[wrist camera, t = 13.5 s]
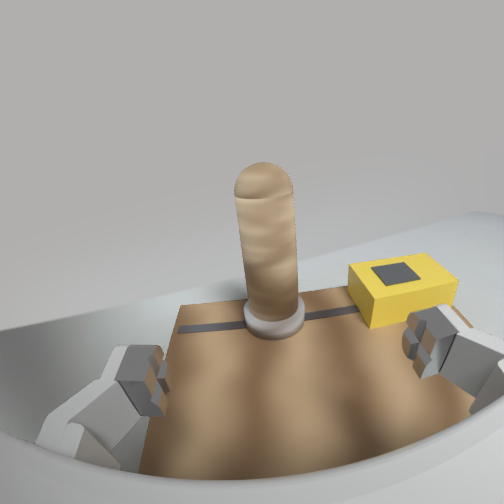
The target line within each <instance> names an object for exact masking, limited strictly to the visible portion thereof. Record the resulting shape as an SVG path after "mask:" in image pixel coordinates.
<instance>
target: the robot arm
mask: <svg viewBox="0 0 504 504" xmlns="http://www.w3.org/2000/svg"><path fill="white" fill-rule="evenodd" d="M406 323H407V325H408V327H407V329H406V330H405V331H404V332H403V336H402V349H403V352H404V354H405V356H406V357H407V358H408V359H410V360H412V361H413V364H412V367H413V369H414V370H415V372H416V374H417V375H418V377H419V379H423V378H426V377H429V376H432V375H435V374H438V373H439V374H440V375H441V376H443V377H444V378H446V379H447V380H449V381H450V382H452V383H453V384H455V385H456V386H458V387H459V388H461V389H462V390H464V391H465V392H467V393H468V394H470V395H471V396H473V397H474V398H475V400H474V401H473V403H472V404H471V406H470V407H469V410H468V411H469V412H470V414H471V416H469V417H467V418H465V419H463V420H462V421H460V422H458V423H456V424H454V425H452V426H450V427H448V428H446V429H444V430H442V431H440V432H438V433H435V434H433V435H431V436H429V437H427V438H424V439H422V440H420V441H417V442H415V443H412V444H410V445H407V446H404V447H402V448H399V449H396V450H394V451H391V452H388V453H385V454H382V455H379V456H376V457H372V458H369V459H366V460H362V461H359V462H355V463H351V464H347V465H343V466H339V467H335V468H330V469H325V470H320V471H315V472H309V473H303V474H297V475H290V476H282V477H273V478H262V479H247V480H193V479H178V478H167V477H158V476H150V475H143V474H137V473H131V472H126V471H121V470H120V469H121V464H120V462H119V461H118V460H117V459H116V458H115V457H114V456H113V455H111V454H110V452H111V451H112V449H113V448H114V447H115V446H116V445H117V444H118V443H119V442H120V441H121V439H122V438H123V437H124V436H125V435H126V434H127V433H128V432H129V431H130V429H131V428H132V427H133V426H134V425H135V424H136V423H137V422H138V420H139V419H140V418H141V416H150V417H165V414H166V409H167V404H168V400H167V398H166V396H165V395H166V394H167V393H168V392H169V391H170V389H171V384H172V381H171V371H170V368H169V365H168V363H166V362H165V361H164V360H162V359H163V355H164V353H163V351H162V349H161V347H160V346H158V345H116V346H115V347H114V349H113V351H112V353H111V355H110V357H109V359H108V361H107V363H106V366H105V368H104V370H103V372H102V374H101V377H100V379H95V380H94V381H92V382H91V383H90V384H88V385H87V386H86V387H84V388H83V389H82V390H80V391H79V392H78V393H76V394H75V395H73V396H72V397H71V398H69V399H68V400H67V401H65V402H64V403H63V404H61V405H60V406H59V407H57V408H56V409H55V410H53V411H52V412H51V413H49V414H48V415H47V417H46V419H45V421H44V423H43V426H42V428H41V430H40V432H39V435H38V437H37V439H36V442H35V444H32V443H29V442H27V441H25V440H23V439H20V438H18V437H16V436H14V435H12V434H10V433H8V432H6V431H4V430H2V429H0V504H504V340H502V339H499V338H497V337H495V336H492V335H490V334H487V333H485V332H482V331H480V330H477V329H475V328H469V327H468V326H467V325H466V324H465V323H464V322H463V321H462V319H461V318H460V317H459V316H458V315H457V314H456V313H455V312H454V311H453V310H452V309H451V308H450V307H449V306H448V305H447V304H445V303H443V304H439V305H436V306H433V307H430V308H426V309H422V310H418V311H414V312H410V314H409V315H408V317H407V320H406Z"/></svg>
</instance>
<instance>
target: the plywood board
mask: <svg viewBox="0 0 504 504" xmlns="http://www.w3.org/2000/svg"><path fill="white" fill-rule="evenodd" d="M347 288H348V286H343V287H336V288H329V289H322V290H315V291H308V292H301V293H298V296H300V297H301V298H302V300H303V302H304V305H305V320H304V325H303V327H302V328H301V330H300V331H299V332H297V333H296V334H295V335H293V336H291V337H288V338H285V339H281V340H265V339H261V338H258V337H256V336H254V335H253V334H251V333H250V332H249V331H248V329H247V326H246V321H245V315H244V306H245V304H246V302H247V301H248V300H249V299H243V300H234V301H224V302H214V303H203V304H192V305H181V306H180V309H179V312H178V316H177V319H176V323H175V326H174V329H173V333H172V336H171V340H170V343H169V347H168V351H167V354H166V358H165V362H166V363H168V365H169V368H170V371H171V381H172V384H171V389H170V391H169V392H168V393H167V394H166V395H165V396H166V398H167V400H168V404H167V409H166V414H165V417H150V421H149V426H148V430H147V435H146V439H145V444H144V448H143V453H142V458H141V463H140V468H139V473H138V474H143V475H150V476H158V477H167V478H178V479H193V480H247V479H262V478H273V477H282V476H290V475H297V474H303V473H309V472H315V471H320V470H325V469H330V468H335V467H339V466H343V465H347V464H351V463H355V462H359V461H362V460H366V459H369V458H372V457H376V456H379V455H382V454H385V453H388V452H391V451H394V450H396V449H399V448H402V447H404V446H407V445H410V444H412V443H415V442H417V441H420V440H422V439H424V438H427V437H429V436H431V435H433V434H435V433H438V432H440V431H442V430H444V429H446V428H448V427H450V426H452V425H454V424H456V423H458V422H460V421H462V420H463V419H465V418H467V417H469V416H471V414H470V412H469V411H468V410H469V407H470V406H471V404H472V403H473V401H474V400H475V398H474V397H473V396H471V395H470V394H468V393H467V392H465V391H464V390H462V389H461V388H459V387H458V386H456V385H455V384H453V383H452V382H450V381H449V380H447V379H446V378H444V377H443V376H441V375H440V374H439V373H438V374H435V375H432V376H429V377H426V378H423V379H419V377H418V375H417V374H416V372H415V370H414V369H413V367H412V364H413V361H412V360H410V359H408V358H407V357H406V356H405V354H404V352H403V349H402V336H403V332H404V331H405V330H406V329H407V327H408V325H407V323H406V321H404V322H399V323H395V324H391V325H387V326H383V327H378V328H374V329H369V327H368V325H367V324H366V322H365V320H364V318H363V317H362V315H361V313H360V311H359V309H358V307H357V306H356V305H355V303H354V302H353V300H352V298H351V297H350V295H349V293H348V292H347ZM451 309H452V310H453V311H454V312H455V313H456V314H457V315H458V316H459V317H460V318H461V319H462V321H463V322H464V323H465V324H466V325H467V326H468V327H469V328H474V327H473V326H472V325H471V324H470V323H469V322H468V321H467V320H466V319H465V317H464V316H463V315H462V314H461V313H460V312H459V311H458V310H457V309H456V308H455V307H454V306H453V305H452V307H451Z"/></svg>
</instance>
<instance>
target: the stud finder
mask: <svg viewBox="0 0 504 504" xmlns="http://www.w3.org/2000/svg"><path fill="white" fill-rule="evenodd" d="M458 282H459V280H458V279H457V278H455V277H454V276H453V275H452V274H451V273H450V272H448V271H447V270H446V269H445V268H444V267H442V266H441V265H440V264H439V263H437V262H436V261H435V260H434V259H432V258H431V257H430V256H429V255H427V254H426V253H421V254H415V255H408V256H402V257H395V258H388V259H381V260H375V261H368V262H361V263H353V264H349V273H348V288H347V292H348V293H349V295H350V297H351V298H352V300H353V302H354V303H355V305H356V306H357V307H358V309H359V311H360V313H361V315H362V317H363V318H364V320H365V322H366V324H367V325H368V327H369V329H374V328H378V327H383V326H387V325H391V324H395V323H399V322H404V321H406V320H407V317H408V315H409V314H410V312H414V311H418V310H422V309H426V308H430V307H433V306H436V305H439V304H443V303H445V304H447V305H448V306H449V307H450V308H451V307H452V304H453V300H454V297H455V293H456V289H457V286H458Z"/></svg>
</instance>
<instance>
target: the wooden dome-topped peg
mask: <svg viewBox="0 0 504 504" xmlns="http://www.w3.org/2000/svg"><path fill="white" fill-rule="evenodd" d="M234 195H235V203H236V210H237V218H238V226H239V233H240V241H241V248H242V256H243V263H244V270H245V278H246V285H247V292H248V299H249V300H248V301H247V302H246V304H245V306H244V315H245V321H246V326H247V329H248V331H249V332H250V333H251V334H253V335H254V336H256V337H258V338H261V339H265V340H281V339H285V338H288V337H291V336H293V335H295V334H296V333H297V332H299V331H300V330H301V328H302V327H303V325H304V320H305V305H304V302H303V300H302V298H301V297H300V296H298V272H297V248H296V227H295V210H294V195H293V185H292V182H291V180H290V178H289V176H288V174H287V173H286V172H285V171H284V170H283V169H282V168H280V167H279V166H277V165H274V164H271V163H265V162H261V163H256V164H253V165H251V166H249V167H247V168H246V169H244V170H243V171H242V172H241V173H240V175H239V176H238V178H237V180H236V183H235V189H234Z"/></svg>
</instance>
